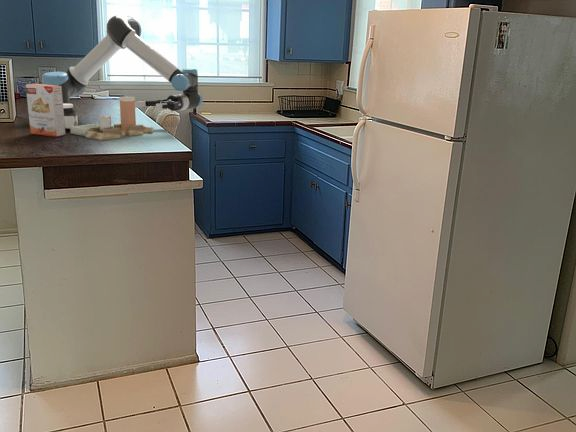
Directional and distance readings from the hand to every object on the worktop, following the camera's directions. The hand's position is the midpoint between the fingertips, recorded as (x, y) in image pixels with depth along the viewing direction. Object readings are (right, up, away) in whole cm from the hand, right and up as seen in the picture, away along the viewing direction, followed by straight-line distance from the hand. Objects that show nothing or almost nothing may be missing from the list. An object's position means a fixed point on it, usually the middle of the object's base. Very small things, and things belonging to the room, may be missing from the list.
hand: (145, 106), depth 256 cm
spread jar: (-36, -11, -1) cm, 38 cm away
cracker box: (-38, -15, -15) cm, 43 cm away
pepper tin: (-13, -16, -16) cm, 26 cm away
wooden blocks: (-9, -15, -9) cm, 19 cm away
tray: (-21, -14, -7) cm, 26 cm away
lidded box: (-6, -13, -5) cm, 16 cm away
